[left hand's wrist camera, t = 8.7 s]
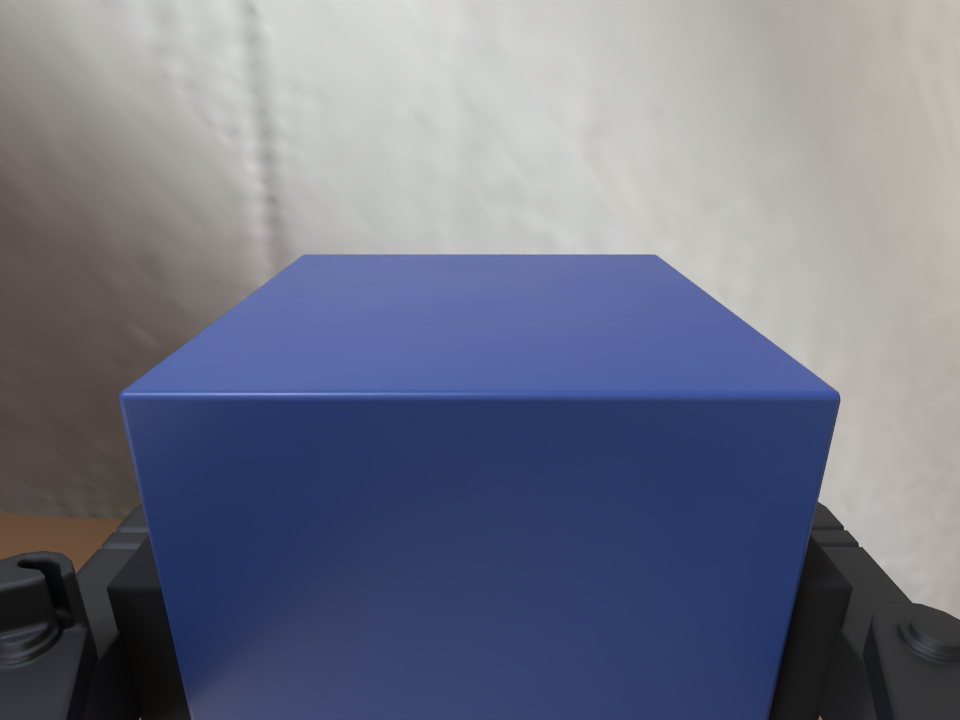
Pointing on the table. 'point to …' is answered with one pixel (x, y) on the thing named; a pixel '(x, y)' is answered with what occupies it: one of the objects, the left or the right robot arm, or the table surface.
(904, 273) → the table surface
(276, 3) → the table surface
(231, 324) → the cube
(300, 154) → the table surface
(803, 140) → the table surface
